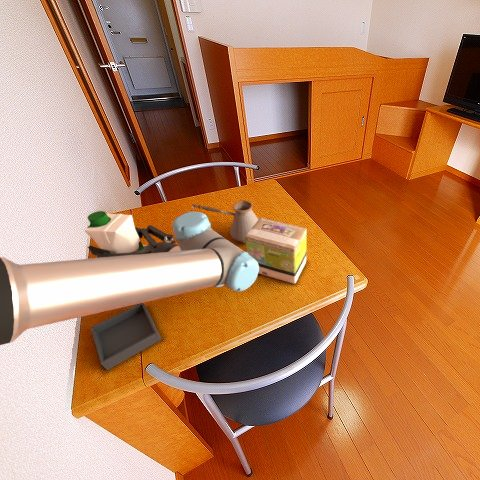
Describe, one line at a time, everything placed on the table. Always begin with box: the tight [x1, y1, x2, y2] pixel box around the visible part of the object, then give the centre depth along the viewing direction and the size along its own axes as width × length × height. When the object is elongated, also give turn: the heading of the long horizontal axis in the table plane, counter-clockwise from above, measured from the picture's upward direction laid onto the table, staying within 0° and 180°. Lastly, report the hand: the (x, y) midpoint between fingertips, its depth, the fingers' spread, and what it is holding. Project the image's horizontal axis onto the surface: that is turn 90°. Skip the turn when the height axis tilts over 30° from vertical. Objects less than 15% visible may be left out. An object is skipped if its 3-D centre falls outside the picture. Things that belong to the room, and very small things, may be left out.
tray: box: [90, 302, 162, 371], centre depth 66 cm, size 12×12×3 cm
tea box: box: [245, 216, 308, 285], centre depth 81 cm, size 15×10×15 cm, turn 72°
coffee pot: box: [191, 199, 260, 244], centre depth 92 cm, size 21×12×15 cm, turn 102°
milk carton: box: [84, 210, 144, 254], centre depth 76 cm, size 9×9×20 cm
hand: (107, 239), depth 77 cm, fingers closed on milk carton, 9 cm apart
